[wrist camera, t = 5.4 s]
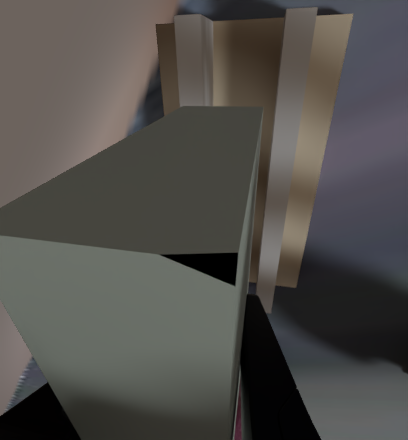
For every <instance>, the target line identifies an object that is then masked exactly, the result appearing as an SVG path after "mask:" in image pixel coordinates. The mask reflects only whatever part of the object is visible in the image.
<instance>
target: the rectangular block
mask: <svg viewBox="0 0 408 440" xmlns="http://www.w3.org/2000/svg"><path fill="white" fill-rule="evenodd" d="M263 108H264V107H239V106H182V107H180V108H178V109H177V110H175V111H173V112H171V113H169V114H168V115H166V116H164V117H162V118H160V119H159V120H157V121H155V122H153V123H151V124H150V125H148V126H146V127H144V128H143V129H141V130H139V131H137V132H135V133H134V134H132V135H130V136H128V137H126V138H125V139H123V140H121V141H119V142H118V143H116V144H114V145H112V146H110V147H109V148H107V149H105V150H103V151H101V152H100V153H98V154H96V155H95V156H93V157H91V158H89V159H87V160H85V161H84V162H82V163H80V164H78V165H76V166H75V167H73V168H71V169H69V170H67V171H66V172H64V173H62V174H60V175H59V176H57V177H55V178H53V179H51V180H50V181H48V182H46V183H44V184H42V185H41V186H39V187H37V188H35V189H33V190H32V191H30V192H28V193H26V194H25V195H23V196H21V197H19V198H18V199H16V200H14V201H12V202H10V203H9V204H7V205H5V206H3V207H2V208H0V300H1V302H2V304H3V305H4V307H5V309H6V311H7V312H8V314H9V316H10V317H11V319H12V321H13V323H14V324H15V326H16V328H17V329H18V331H19V333H20V335H21V336H22V338H23V340H24V342H25V343H26V345H27V347H28V348H29V350H30V352H31V354H32V355H33V357H34V359H35V361H36V362H37V364H38V366H39V367H40V369H41V371H42V373H43V374H44V376H45V378H46V380H47V381H48V383H49V385H50V386H51V388H52V390H53V392H54V393H55V395H56V397H57V399H58V400H59V402H60V404H61V405H62V407H63V409H64V411H65V412H66V414H67V416H68V417H69V419H70V421H71V423H72V424H73V426H74V428H75V430H76V431H77V433H78V435H79V436H80V438H81V440H234V435H235V425H236V415H237V405H238V395H239V385H240V362H241V349H242V337H243V325H244V316H245V307H246V298H247V294H248V284H249V272H250V261H251V249H252V237H253V225H254V213H255V202H256V190H257V178H258V166H259V155H260V143H261V131H262V119H263Z"/></svg>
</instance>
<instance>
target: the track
mask: <svg viewBox="0 0 408 440" xmlns="http://www.w3.org/2000/svg"><path fill="white" fill-rule="evenodd" d="M317 9H318V7H311V8H294V9H286V13H285V16H284V18H265V19H246V20H227V21H212V20H210V19H208V18H207V17H205V16H203V15H201V14H192V15H175V16H174V23H171V24H156V33H157V44H158V55H159V65H160V76H161V86H162V97H163V108H164V116H166V115H168V114H169V113H171V112H173V111H175V110H177V109H178V108H180V107H182V106H239V107H264V108H263V119H262V131H261V143H260V155H259V166H258V178H257V190H256V202H255V213H254V225H253V237H252V249H251V261H250V272H249V282H254V283H256V295H258V296H259V298H260V300H261V303H262V305H263V307H264V310H265V312H266V313H271V310H272V303H273V297H274V290H275V285H277V286H284V287H292V288H296V286H297V281H298V276H299V272H300V267H301V262H302V257H303V252H304V248H305V243H306V238H307V233H308V229H309V224H310V219H311V214H312V209H313V205H314V200H315V195H316V190H317V185H318V181H319V176H320V171H321V166H322V162H323V157H324V152H325V147H326V142H327V138H328V133H329V128H330V123H331V119H332V114H333V109H334V104H335V99H336V95H337V90H338V85H339V80H340V75H341V71H342V66H343V61H344V56H345V52H346V47H347V42H348V37H349V32H350V28H351V23H352V18H353V14H340V15H321V16H317Z"/></svg>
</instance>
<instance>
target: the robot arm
mask: <svg viewBox="0 0 408 440" xmlns="http://www.w3.org/2000/svg"><path fill="white" fill-rule="evenodd" d="M240 376H241V431H242V440H321V438H320V436H319V434H318V432H317V430H316V428H315V426H314V425H313V423H312V420H311V418H310V416H309V414H308V411H307V409H306V407H305V405H304V403H303V400H302V398H301V395H300V393H299V391H298V389H296V388H297V386H296V384H295V381H294V379H293V377H292V374H291V372H290V370H289V367H288V365H287V362H286V360H285V358H284V355H283V353H282V350H281V348H280V346H279V343H278V341H277V339H276V336H275V334H274V331H273V329H272V327H271V324H270V322H269V319H268V317H267V315H266V312H265V310H264V307H263V305H262V303H261V300H260V298H259V296H258V295H254V294H247V298H246V307H245V316H244V325H243V337H242V349H241V362H240ZM0 440H81V438H80V436H79V435H78V433H77V431H76V430H75V428H74V426H73V424H72V423H71V421H70V419H69V417H68V416H67V414H66V412H65V411H64V409H63V407H62V405H61V404H60V402H59V400H58V399H57V397H56V395H55V393H54V392H53V390H52V388H51V386H50V385H49V383H48V382H47V383H46V384H45V385H43V386H42V387H41V388H39V389H38V390H36V391H35V392H34V393H32V394H31V395H29V396H28V397H27V398H25V399H24V400H22V401H21V402H20V403H18V404H17V405H15V406H14V407H13V408H11V409H10V410H8V411H7V412H5V413H4V414H3V415H1V416H0Z"/></svg>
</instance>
